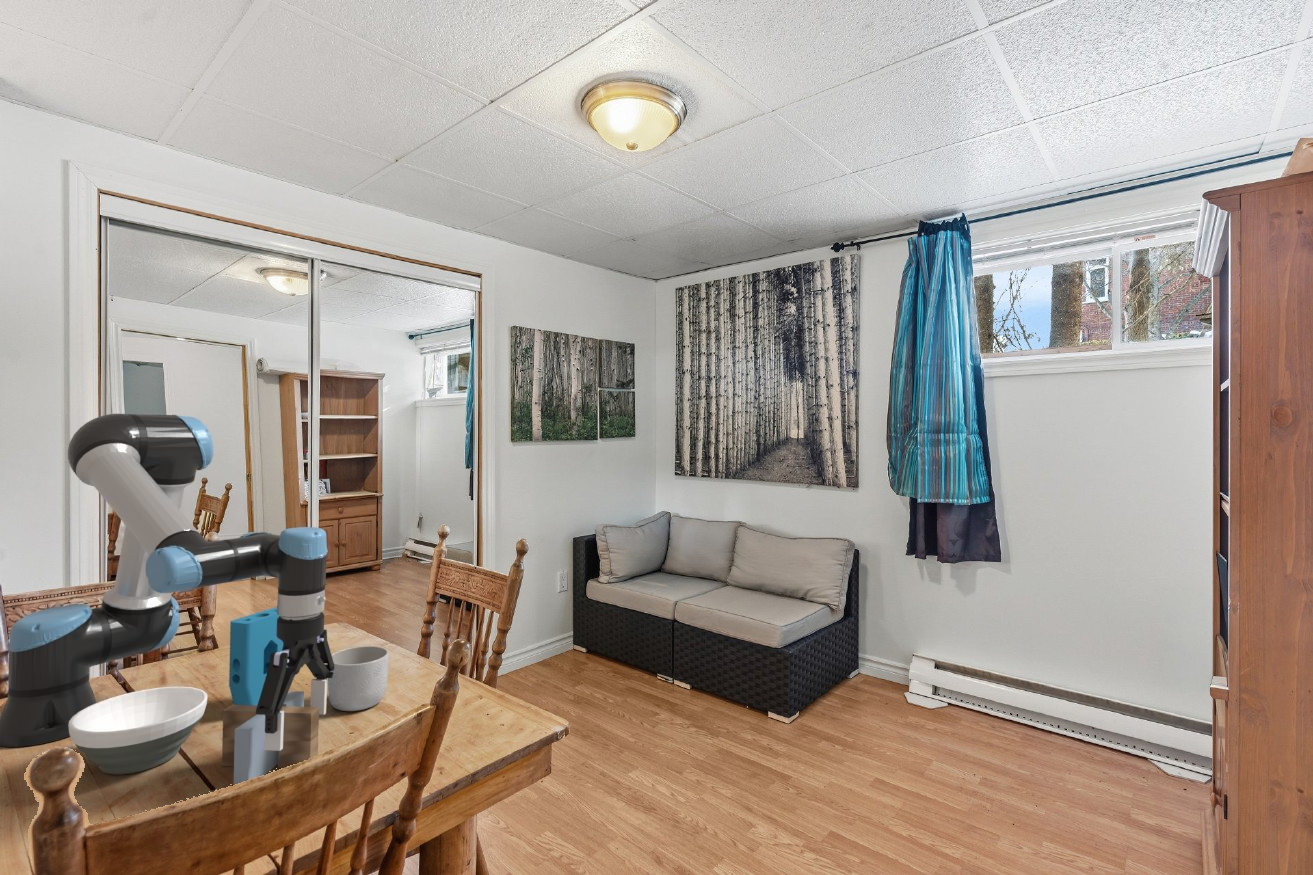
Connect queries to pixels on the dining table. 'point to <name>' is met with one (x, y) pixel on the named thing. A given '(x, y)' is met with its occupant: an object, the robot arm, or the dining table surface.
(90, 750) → the bowl
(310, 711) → the wooden blocks
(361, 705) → the planter
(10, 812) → the dining table surface
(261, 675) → the block
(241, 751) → the slot stand
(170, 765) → the dining table surface
